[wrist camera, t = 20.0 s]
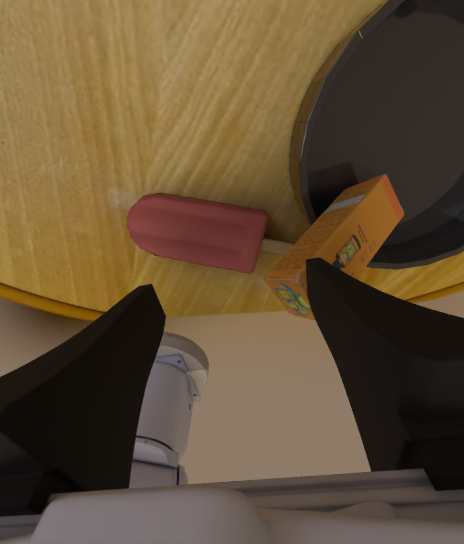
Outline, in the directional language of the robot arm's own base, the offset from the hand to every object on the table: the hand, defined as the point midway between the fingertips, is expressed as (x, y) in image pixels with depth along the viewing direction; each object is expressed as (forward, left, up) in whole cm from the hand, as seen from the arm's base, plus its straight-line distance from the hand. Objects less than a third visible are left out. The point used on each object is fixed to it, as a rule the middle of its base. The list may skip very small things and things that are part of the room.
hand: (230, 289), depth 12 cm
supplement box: (0, -10, -8) cm, 13 cm away
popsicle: (-1, +1, -10) cm, 11 cm away
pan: (+3, -13, -10) cm, 17 cm away
